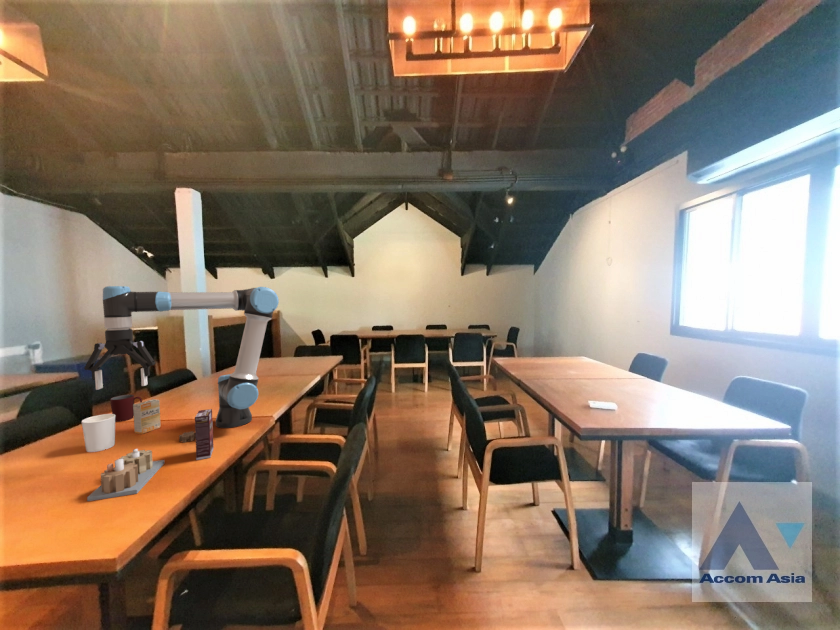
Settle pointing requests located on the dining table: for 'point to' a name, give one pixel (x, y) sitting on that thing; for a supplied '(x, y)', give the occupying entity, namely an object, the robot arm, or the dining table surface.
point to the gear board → (131, 490)
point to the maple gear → (140, 460)
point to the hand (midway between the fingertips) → (122, 387)
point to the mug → (123, 407)
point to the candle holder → (99, 432)
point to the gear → (187, 436)
